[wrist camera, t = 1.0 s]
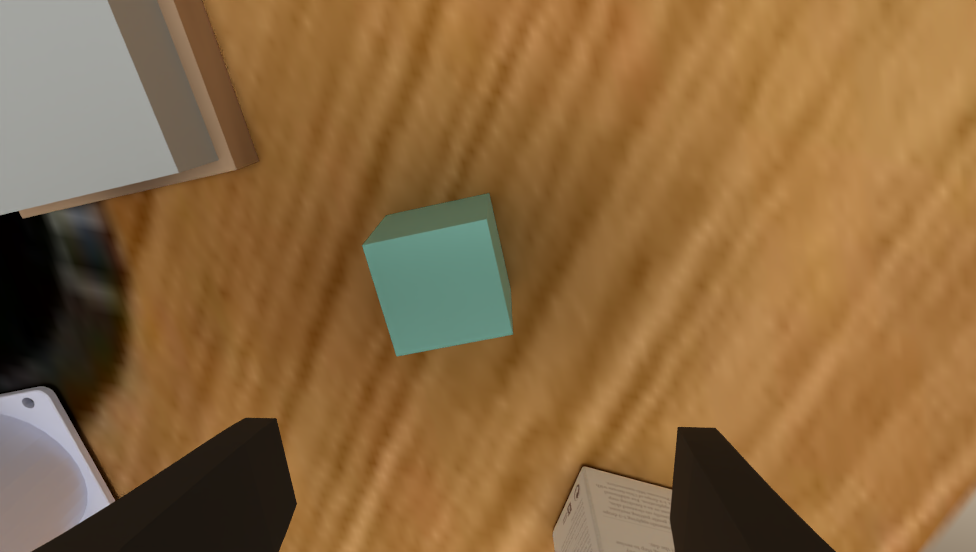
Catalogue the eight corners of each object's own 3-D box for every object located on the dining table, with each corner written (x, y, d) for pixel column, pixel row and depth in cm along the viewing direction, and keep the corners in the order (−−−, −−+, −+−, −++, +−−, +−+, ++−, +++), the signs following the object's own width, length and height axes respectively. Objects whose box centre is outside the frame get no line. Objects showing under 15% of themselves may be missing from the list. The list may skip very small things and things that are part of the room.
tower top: (30, 204, 19) (-34, 223, 17) (-83, -16, 17) (-176, -31, 15) (218, 160, 19) (178, 172, 16) (127, -76, 16) (65, -101, 14)
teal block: (414, 309, 23) (396, 356, 19) (386, 214, 21) (361, 245, 17) (510, 289, 22) (512, 334, 18) (489, 192, 21) (486, 219, 17)
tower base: (73, 202, 22) (22, 218, 19) (-35, -22, 19) (-109, -35, 17) (265, 158, 21) (236, 169, 19) (181, -81, 18) (135, -103, 16)
